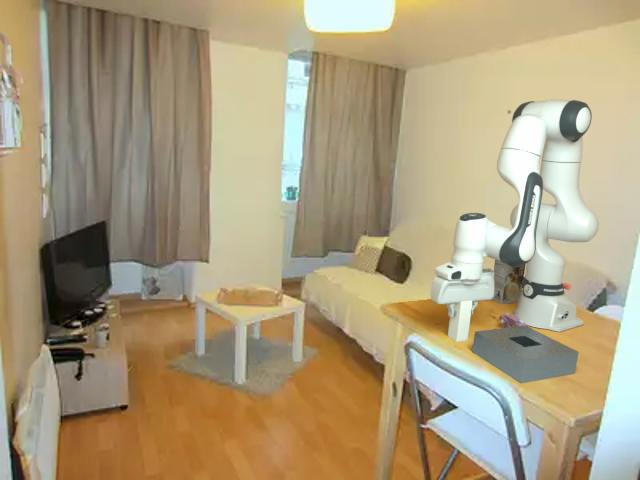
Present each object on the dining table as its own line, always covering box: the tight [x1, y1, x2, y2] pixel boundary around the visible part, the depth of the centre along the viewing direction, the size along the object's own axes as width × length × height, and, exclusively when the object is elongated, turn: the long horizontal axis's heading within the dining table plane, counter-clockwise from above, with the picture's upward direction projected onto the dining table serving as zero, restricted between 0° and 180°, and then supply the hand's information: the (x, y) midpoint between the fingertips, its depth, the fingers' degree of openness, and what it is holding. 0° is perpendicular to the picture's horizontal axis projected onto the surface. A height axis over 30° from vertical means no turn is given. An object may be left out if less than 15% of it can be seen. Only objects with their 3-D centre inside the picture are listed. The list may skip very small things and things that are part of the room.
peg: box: [447, 301, 472, 343], centre depth 141 cm, size 4×4×12 cm
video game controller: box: [498, 312, 529, 328], centre depth 149 cm, size 10×5×7 cm, turn 24°
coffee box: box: [491, 259, 526, 305], centre depth 179 cm, size 9×6×16 cm
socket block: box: [471, 325, 580, 384], centre depth 128 cm, size 18×18×6 cm
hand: (460, 315), depth 141 cm, fingers open, 5 cm apart
